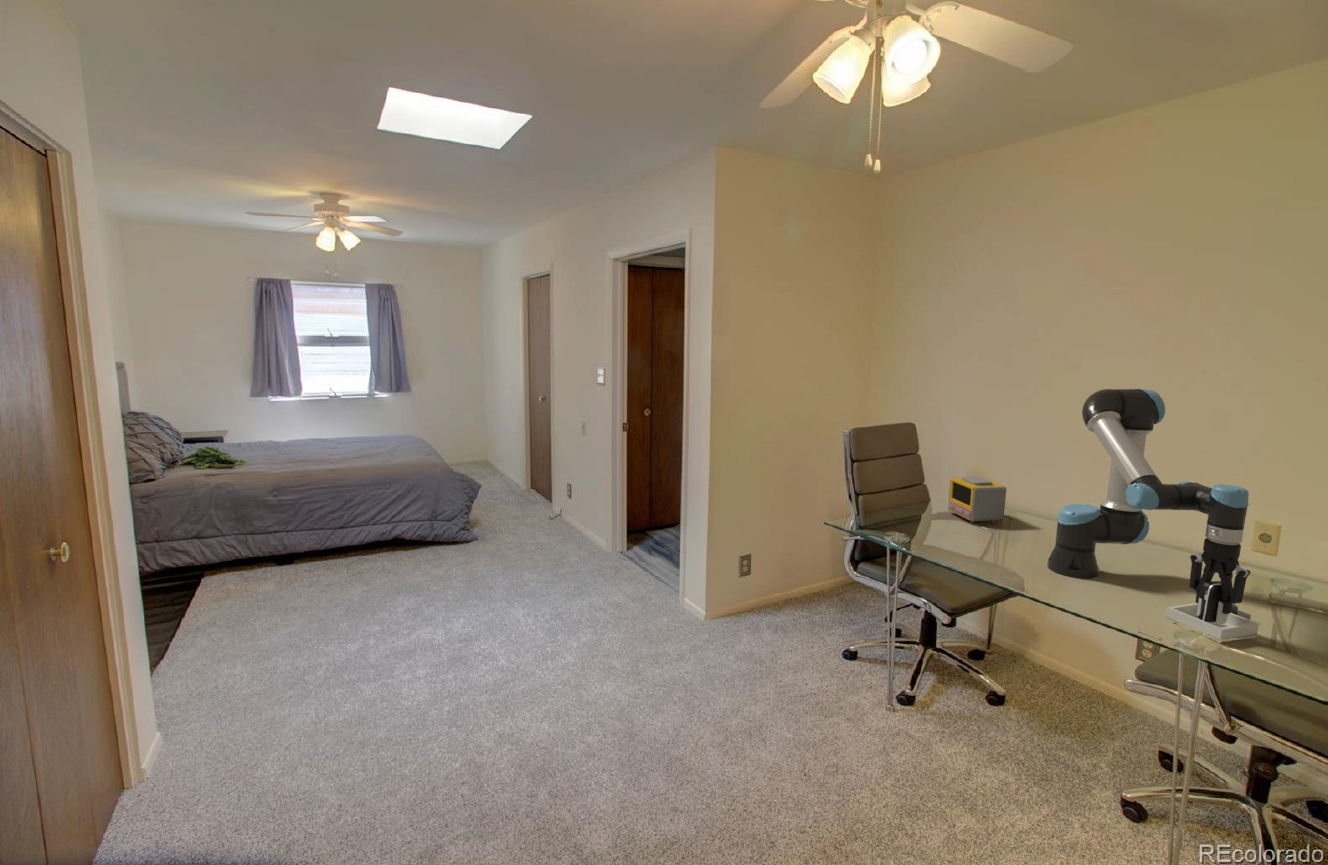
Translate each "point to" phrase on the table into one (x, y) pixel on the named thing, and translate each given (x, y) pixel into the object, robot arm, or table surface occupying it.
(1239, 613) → the speaker
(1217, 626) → the tray
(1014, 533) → the table surface
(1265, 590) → the table surface
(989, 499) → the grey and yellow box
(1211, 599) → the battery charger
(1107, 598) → the table surface
